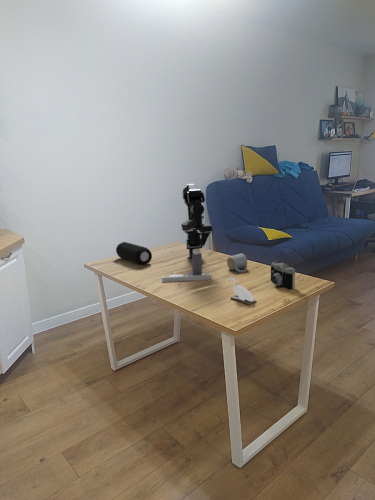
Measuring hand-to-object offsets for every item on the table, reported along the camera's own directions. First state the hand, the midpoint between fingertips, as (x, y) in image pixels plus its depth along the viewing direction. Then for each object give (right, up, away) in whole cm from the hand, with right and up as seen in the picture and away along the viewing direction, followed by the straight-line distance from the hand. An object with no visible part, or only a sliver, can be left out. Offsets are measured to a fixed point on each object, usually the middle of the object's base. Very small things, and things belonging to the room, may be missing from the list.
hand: (197, 245), depth 183 cm
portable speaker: (-36, -9, +24) cm, 44 cm away
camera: (+35, -18, -25) cm, 47 cm away
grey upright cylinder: (-1, -15, -9) cm, 18 cm away
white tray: (-6, -16, -9) cm, 19 cm away
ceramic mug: (+21, -13, -1) cm, 24 cm away
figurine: (+16, -23, -39) cm, 48 cm away
